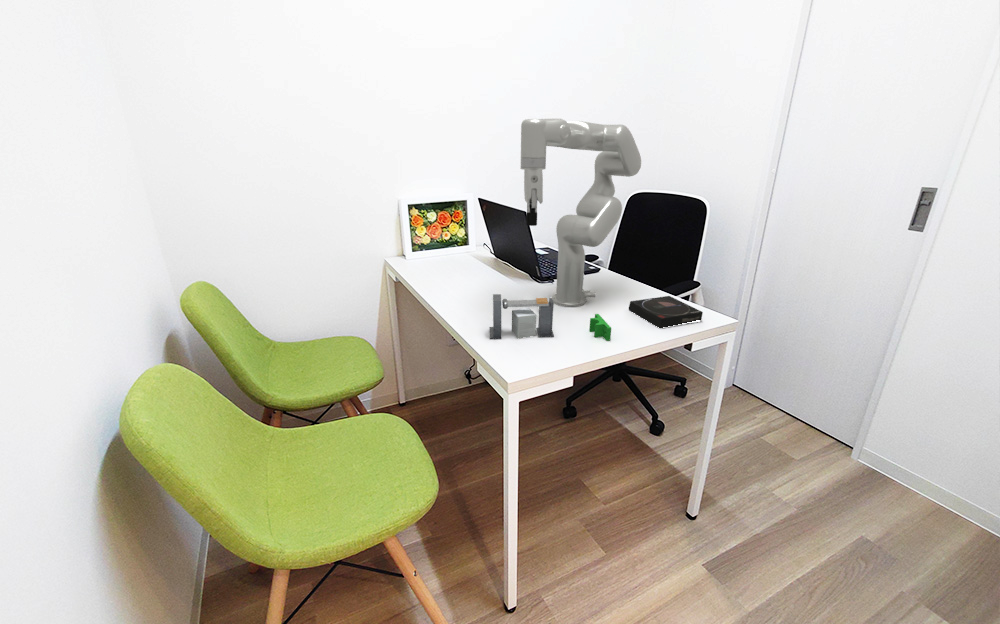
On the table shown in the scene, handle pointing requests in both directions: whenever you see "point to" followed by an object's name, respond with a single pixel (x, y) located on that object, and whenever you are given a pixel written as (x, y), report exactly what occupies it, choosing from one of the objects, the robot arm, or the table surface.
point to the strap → (525, 303)
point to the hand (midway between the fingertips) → (531, 225)
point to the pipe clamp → (600, 327)
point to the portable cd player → (664, 311)
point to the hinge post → (496, 318)
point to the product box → (523, 322)
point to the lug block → (545, 320)
